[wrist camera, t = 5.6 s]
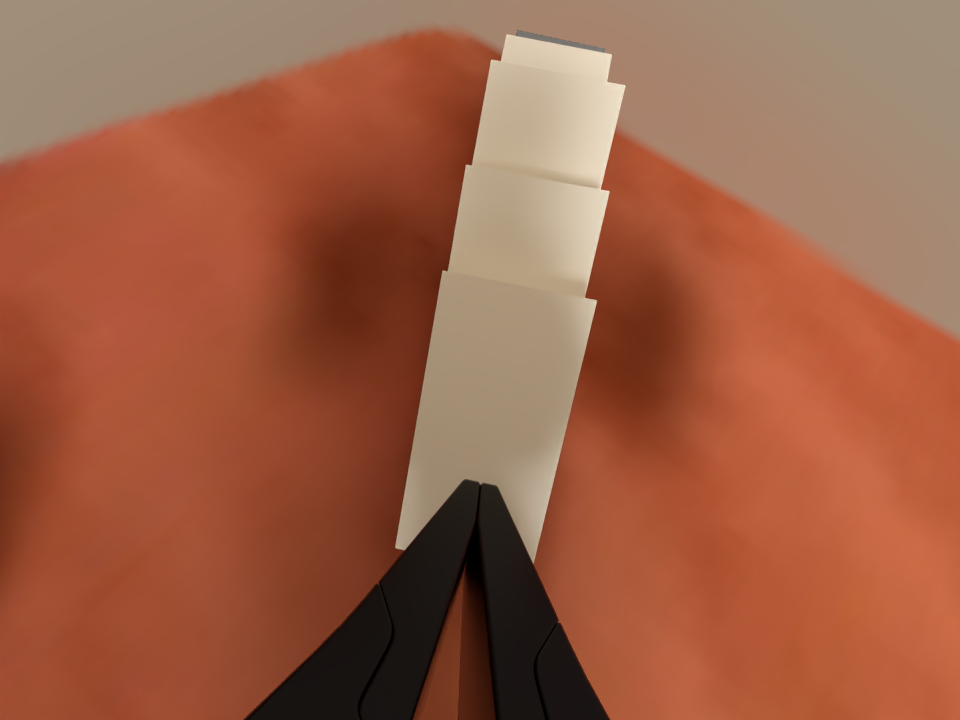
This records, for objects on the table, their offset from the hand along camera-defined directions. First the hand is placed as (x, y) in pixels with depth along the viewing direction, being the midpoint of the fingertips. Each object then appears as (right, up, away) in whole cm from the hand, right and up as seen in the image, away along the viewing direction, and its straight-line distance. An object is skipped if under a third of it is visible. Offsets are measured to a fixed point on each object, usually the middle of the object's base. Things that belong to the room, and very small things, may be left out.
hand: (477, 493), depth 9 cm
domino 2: (0, 0, +6) cm, 6 cm away
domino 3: (+1, +4, +7) cm, 8 cm away
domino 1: (-1, -4, +5) cm, 7 cm away
